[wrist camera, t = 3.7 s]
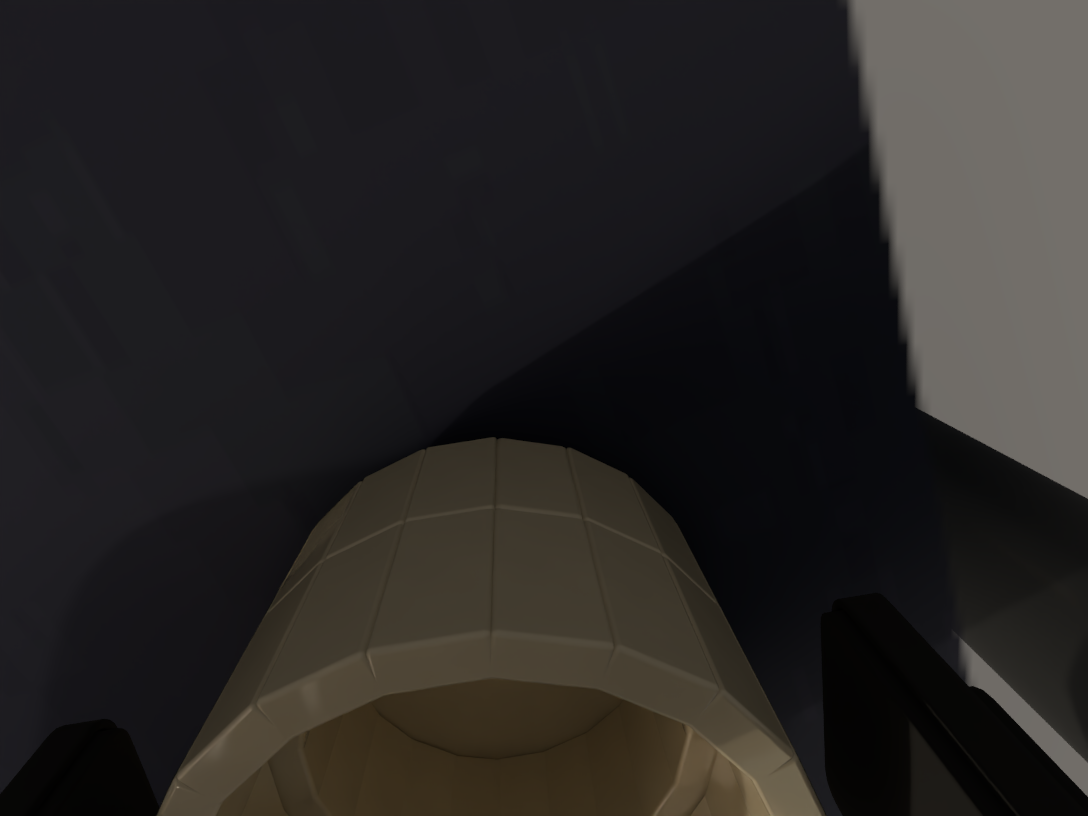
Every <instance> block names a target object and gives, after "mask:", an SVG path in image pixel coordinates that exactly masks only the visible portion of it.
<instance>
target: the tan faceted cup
mask: <svg viewBox="0 0 1088 816" xmlns="http://www.w3.org/2000/svg"><path fill="white" fill-rule="evenodd" d="M156 816H827V815H826V813H825V811H824V809H823V807H822V805H821V803H820V801H819V799H818V797H817V794H816V792H815V790H814V788H813V786H812V784H811V782H810V780H809V778H808V776H807V774H806V772H805V770H804V768H803V766H802V763H801V761H800V759H799V757H798V755H797V753H796V751H795V750H794V748H793V746H792V744H791V742H790V740H789V738H788V736H787V734H786V732H785V730H784V728H783V726H782V724H781V723H780V721H779V719H778V717H777V715H776V713H775V711H774V709H773V707H772V705H771V703H770V701H769V699H768V697H767V696H766V694H765V692H764V690H763V688H762V686H761V684H760V682H759V680H758V678H757V676H756V674H755V672H754V670H753V669H752V667H751V665H750V663H749V661H748V659H747V657H746V655H745V653H744V651H743V649H742V647H741V645H740V643H739V642H738V640H737V638H736V636H735V634H734V632H733V630H732V628H731V626H730V624H729V622H728V620H727V618H726V616H725V615H724V613H723V611H722V609H721V607H720V605H719V603H718V601H717V599H716V597H715V595H714V593H713V591H712V590H711V588H710V586H709V584H708V582H707V580H706V578H705V576H704V574H703V572H702V570H701V568H700V566H699V564H698V563H697V561H696V559H695V557H694V555H693V553H692V551H691V549H690V547H689V545H688V543H687V541H686V539H685V537H684V536H683V534H682V532H681V530H680V528H679V526H678V524H677V523H675V521H674V519H673V517H672V516H671V515H670V514H669V513H668V512H666V511H665V510H664V509H663V508H662V507H661V506H660V505H659V504H658V503H657V502H656V501H655V500H654V499H653V498H652V497H651V496H650V495H649V494H648V493H647V492H646V491H645V490H644V489H643V488H642V487H641V486H640V485H639V484H637V483H636V482H635V481H634V480H633V479H632V478H629V477H628V475H627V474H625V473H623V472H621V471H619V470H617V469H614V468H612V467H610V466H608V465H606V464H604V463H602V462H600V461H598V460H595V459H593V458H591V457H589V456H587V455H585V454H583V453H581V452H579V451H576V450H574V449H572V448H569V447H568V448H567V449H566V448H564V447H562V446H556V445H549V444H542V443H534V442H527V441H520V440H513V439H506V438H500V439H498V440H497V439H496V438H495V437H491V438H484V439H478V440H472V441H465V442H459V443H453V444H447V445H440V446H434V447H428V448H427V449H426V450H424V449H423V450H420V451H418V452H416V453H414V454H412V455H410V456H408V457H406V458H404V459H402V460H400V461H398V462H395V463H393V464H391V465H389V466H387V467H385V468H383V469H381V470H379V471H377V472H375V473H373V474H371V475H369V476H367V477H365V478H364V479H363V481H361V482H359V483H357V484H356V485H355V486H354V487H353V488H352V489H351V490H350V491H349V492H348V493H347V494H346V495H345V496H344V497H343V498H342V499H341V500H340V501H339V502H338V503H337V504H336V505H335V506H334V507H333V508H332V509H331V510H330V511H329V512H328V513H327V514H326V515H325V516H324V517H323V518H322V519H321V520H320V521H319V522H318V523H317V525H316V526H315V528H314V529H313V530H312V532H311V533H310V535H309V537H308V539H307V541H306V542H305V544H304V546H303V548H302V549H301V551H300V553H299V555H298V557H297V558H296V560H295V562H294V564H293V566H292V567H291V569H290V571H289V573H288V574H287V576H286V578H285V580H284V582H283V583H282V585H281V587H280V589H279V590H278V592H277V594H276V596H275V598H274V599H273V601H272V603H271V605H270V607H269V608H268V610H267V612H266V614H265V615H264V617H263V619H262V621H261V623H260V624H259V626H258V628H257V630H256V632H255V633H254V635H253V637H252V639H251V640H250V642H249V644H248V646H247V648H246V649H245V651H244V653H243V655H242V656H241V658H240V660H239V662H238V664H237V665H236V667H235V669H234V671H233V673H232V674H231V676H230V678H229V680H228V681H227V683H226V685H225V687H224V689H223V690H222V692H221V694H220V696H219V698H218V699H217V701H216V703H215V705H214V706H213V708H212V710H211V712H210V714H209V715H208V717H207V719H206V721H205V722H204V724H203V726H202V728H201V730H200V731H199V733H198V735H197V737H196V739H195V740H194V742H193V744H192V746H191V747H190V749H189V751H188V753H187V755H186V756H185V758H184V760H183V762H182V763H181V765H180V767H179V769H178V771H177V772H176V774H175V776H174V778H173V780H172V782H171V784H170V786H169V788H168V790H167V793H166V795H165V797H164V799H163V801H162V803H161V806H160V808H159V810H158V812H157V814H156Z"/></svg>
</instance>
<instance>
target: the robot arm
mask: <svg viewBox="0 0 1088 816" xmlns="http://www.w3.org/2000/svg"><path fill="white" fill-rule="evenodd" d="M821 644H822V677H823V710H824V742H825V770H826V776H827V781H828V785H829V788H830V791H831V793H832V796H833V798H834V800H835V802H836V804H837V806H838V808H839V810H840V811H841V813H842V815H843V816H1088V797H1087V796H1086V795H1085V794H1084V793H1083V791H1082V790H1081V789H1079V787H1078V786H1077V785H1076V784H1075V783H1074V782H1073V781H1072V780H1071V779H1070V778H1069V777H1068V776H1067V775H1066V774H1065V773H1064V772H1063V771H1062V770H1061V769H1060V768H1059V767H1058V766H1057V764H1056V763H1055V762H1054V761H1053V760H1052V759H1051V758H1050V757H1049V756H1048V755H1047V754H1046V753H1045V752H1044V751H1043V750H1042V749H1041V748H1040V747H1039V746H1038V745H1037V744H1036V743H1035V742H1034V741H1033V740H1032V739H1031V737H1030V736H1029V735H1028V734H1026V732H1025V731H1024V730H1023V729H1022V728H1021V727H1020V726H1019V725H1018V724H1017V723H1016V722H1015V721H1014V720H1013V719H1012V718H1011V717H1010V716H1009V715H1008V714H1007V713H1006V711H1005V710H1004V709H1003V708H1002V707H1001V706H1000V705H999V704H998V703H997V702H996V701H995V700H994V699H993V698H992V697H990V696H989V695H988V694H987V693H986V692H985V691H983V690H982V689H979V688H976V687H974V686H971V687H969V686H968V685H967V684H966V683H965V682H964V681H963V680H962V679H961V678H960V677H959V676H958V675H957V674H956V672H955V671H954V670H953V669H952V668H951V667H950V666H949V665H948V664H947V663H946V662H945V661H944V660H943V659H942V658H941V656H940V655H939V654H938V653H937V652H936V651H935V650H934V649H933V648H932V647H931V646H930V645H929V644H928V643H927V642H926V640H925V639H924V638H923V637H922V636H921V635H920V634H919V633H918V632H917V631H916V630H915V629H914V628H913V627H912V625H911V624H910V623H909V622H908V621H907V620H906V619H905V618H904V617H903V616H902V615H901V614H900V613H899V612H898V611H897V609H896V608H895V607H894V606H893V605H892V604H891V603H890V602H889V601H888V600H887V599H886V598H885V597H884V596H883V595H881V594H878V593H873V594H867V595H861V596H855V597H849V598H843V599H837V600H836V601H834V603H833V606H832V612H827V613H824V614H822V617H821ZM158 810H159V806H158V803H157V801H156V798H155V796H154V794H153V791H152V789H151V786H150V784H149V781H148V779H147V777H146V774H145V772H144V769H143V767H142V764H141V762H140V759H139V757H138V755H137V752H136V750H135V747H134V745H133V742H132V740H131V738H130V736H129V734H128V732H127V731H126V730H124V729H122V728H117V726H116V725H115V723H113V722H112V721H111V720H108V719H101V720H95V721H89V722H82V723H76V724H70V725H64V726H61V727H59V728H56V729H55V730H54V731H53V732H52V733H51V734H50V735H49V736H48V737H47V738H46V740H45V741H44V742H43V743H42V744H41V746H40V747H39V748H38V749H37V750H36V752H35V753H34V754H33V755H32V757H31V758H30V759H29V760H28V761H27V763H26V764H25V765H24V766H23V767H22V769H21V770H20V771H19V772H18V773H17V775H16V776H15V777H14V778H13V780H12V781H11V782H10V783H9V784H8V786H7V787H6V788H5V789H4V790H3V792H2V793H1V794H0V816H156V814H157V812H158Z"/></svg>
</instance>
